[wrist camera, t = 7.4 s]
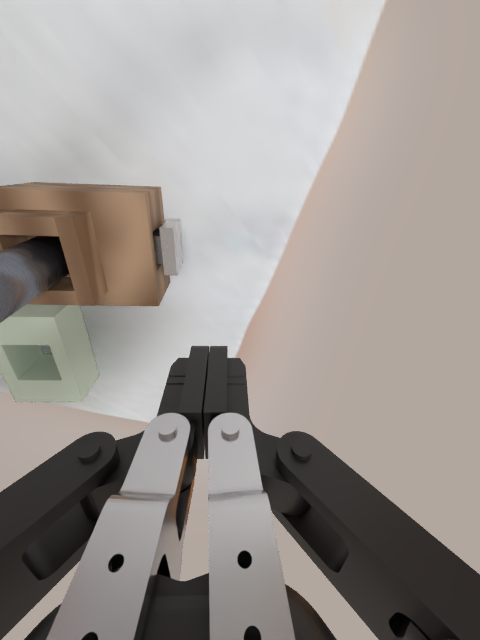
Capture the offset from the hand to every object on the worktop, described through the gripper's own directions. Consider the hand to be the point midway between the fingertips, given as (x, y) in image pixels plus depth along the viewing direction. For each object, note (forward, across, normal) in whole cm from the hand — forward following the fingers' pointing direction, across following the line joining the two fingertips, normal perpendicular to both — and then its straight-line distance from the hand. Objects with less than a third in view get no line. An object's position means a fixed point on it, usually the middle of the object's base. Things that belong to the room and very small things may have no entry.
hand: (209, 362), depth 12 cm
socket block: (+21, +12, 0) cm, 24 cm away
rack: (+21, +21, +13) cm, 32 cm away
